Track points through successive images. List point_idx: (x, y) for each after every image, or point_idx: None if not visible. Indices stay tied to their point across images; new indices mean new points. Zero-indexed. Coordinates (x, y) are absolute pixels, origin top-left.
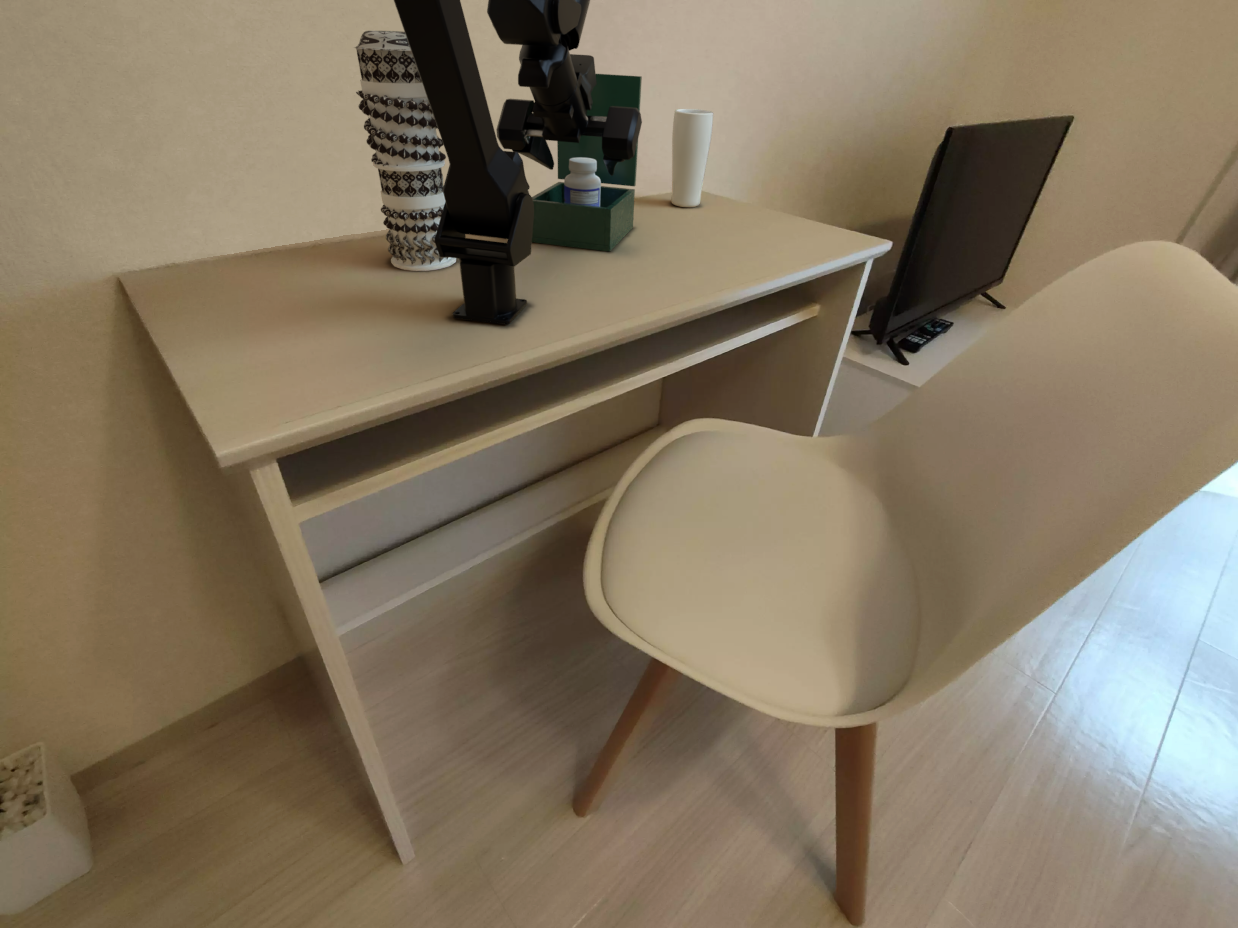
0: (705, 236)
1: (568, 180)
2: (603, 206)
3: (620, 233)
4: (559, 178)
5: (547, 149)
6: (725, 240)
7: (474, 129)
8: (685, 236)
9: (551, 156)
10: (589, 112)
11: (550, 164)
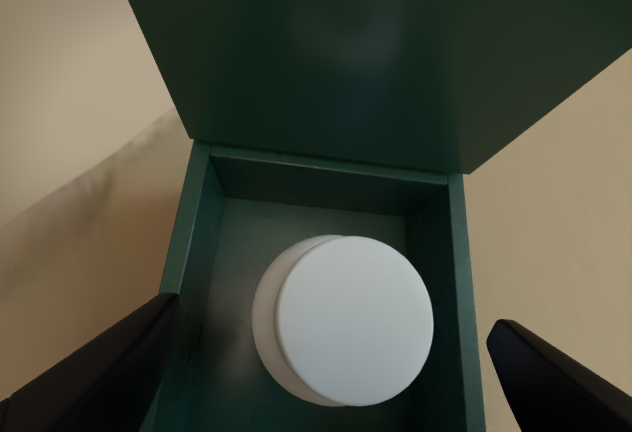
0: (573, 230)
1: (283, 384)
2: (350, 197)
3: None
4: (195, 137)
5: (101, 405)
6: (618, 248)
7: None
8: (537, 243)
9: (151, 341)
10: None
11: (162, 359)
